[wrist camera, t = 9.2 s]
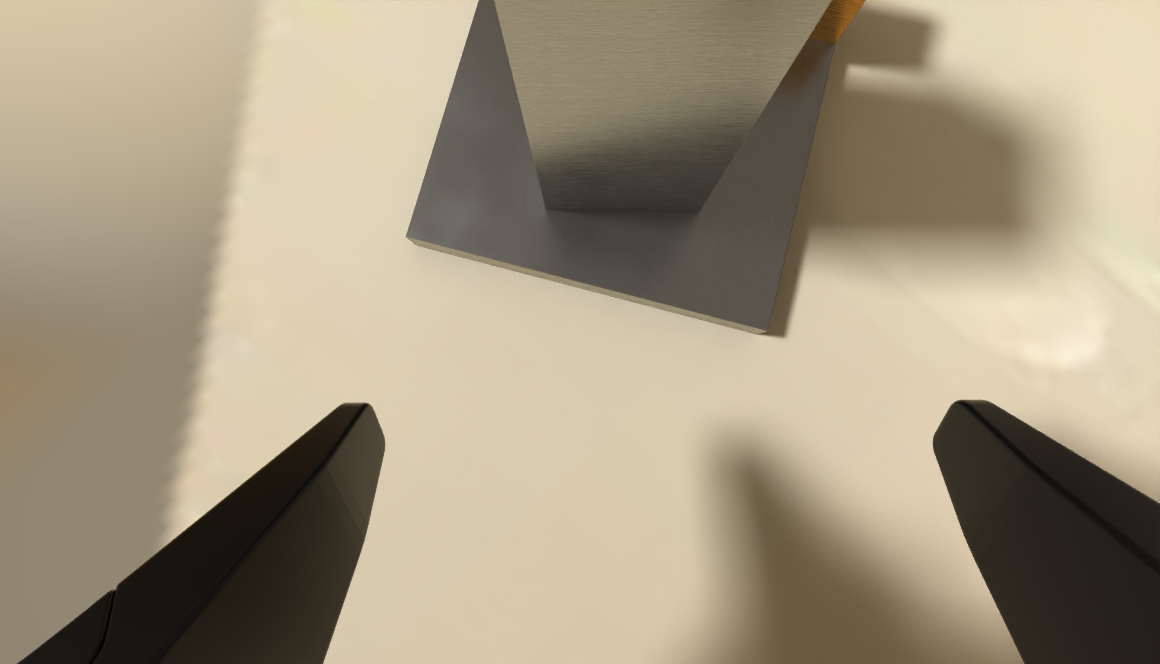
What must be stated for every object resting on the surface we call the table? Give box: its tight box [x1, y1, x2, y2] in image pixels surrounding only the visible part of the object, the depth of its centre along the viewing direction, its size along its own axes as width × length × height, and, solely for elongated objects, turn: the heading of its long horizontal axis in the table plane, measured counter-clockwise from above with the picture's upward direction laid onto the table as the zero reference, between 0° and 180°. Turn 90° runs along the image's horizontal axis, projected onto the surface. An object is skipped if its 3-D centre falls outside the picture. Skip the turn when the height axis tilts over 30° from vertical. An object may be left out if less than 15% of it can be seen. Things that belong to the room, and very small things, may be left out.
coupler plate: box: [406, 0, 866, 334], centre depth 16 cm, size 12×12×4 cm
